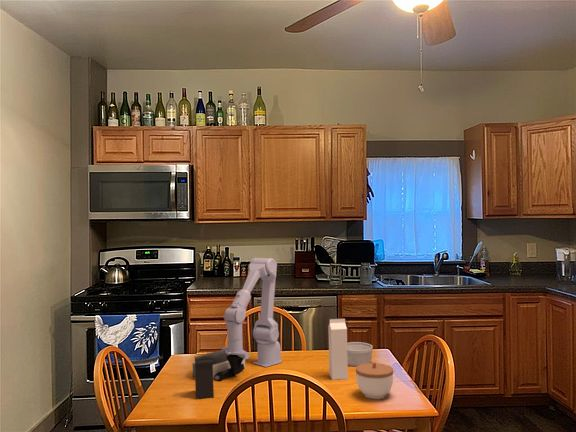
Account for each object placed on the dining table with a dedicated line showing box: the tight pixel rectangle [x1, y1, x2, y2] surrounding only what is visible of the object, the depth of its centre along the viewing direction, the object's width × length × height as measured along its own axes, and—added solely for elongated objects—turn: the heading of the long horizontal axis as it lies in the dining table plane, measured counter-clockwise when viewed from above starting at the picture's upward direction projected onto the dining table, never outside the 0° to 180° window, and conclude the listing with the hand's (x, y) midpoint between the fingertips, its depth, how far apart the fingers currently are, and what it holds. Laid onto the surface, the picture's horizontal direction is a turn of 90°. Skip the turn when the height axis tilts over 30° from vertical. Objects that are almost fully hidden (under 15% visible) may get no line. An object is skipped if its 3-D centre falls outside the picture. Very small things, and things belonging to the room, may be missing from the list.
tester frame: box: [191, 349, 229, 378], centre depth 196 cm, size 21×8×7 cm, turn 134°
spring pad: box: [213, 359, 246, 378], centre depth 193 cm, size 21×2×6 cm, turn 134°
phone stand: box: [194, 359, 215, 400], centre depth 172 cm, size 9×6×12 cm, turn 11°
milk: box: [327, 318, 349, 381], centre depth 187 cm, size 6×6×22 cm
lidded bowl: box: [355, 361, 394, 400], centre depth 168 cm, size 13×13×11 cm
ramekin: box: [347, 341, 373, 367], centre depth 205 cm, size 13×13×7 cm
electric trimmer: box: [213, 364, 245, 383], centre depth 191 cm, size 4×16×3 cm, turn 145°
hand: (235, 374), depth 190 cm, fingers closed
